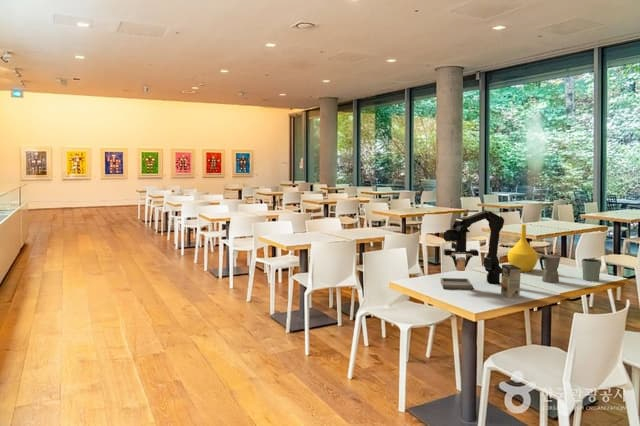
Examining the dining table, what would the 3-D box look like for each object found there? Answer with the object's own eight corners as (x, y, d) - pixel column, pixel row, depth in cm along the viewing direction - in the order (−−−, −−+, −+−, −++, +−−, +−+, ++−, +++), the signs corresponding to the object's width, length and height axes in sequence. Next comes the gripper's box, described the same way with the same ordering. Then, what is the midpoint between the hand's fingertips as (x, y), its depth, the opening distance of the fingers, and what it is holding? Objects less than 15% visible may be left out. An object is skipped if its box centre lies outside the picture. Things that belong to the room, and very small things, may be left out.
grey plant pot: (604, 281, 294) (605, 261, 292) (590, 282, 291) (591, 262, 289) (590, 277, 303) (591, 258, 302) (577, 278, 300) (578, 259, 299)
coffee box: (500, 293, 269) (501, 264, 267) (511, 293, 269) (512, 264, 268) (508, 298, 260) (509, 268, 258) (520, 297, 260) (521, 267, 259)
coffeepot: (552, 278, 301) (554, 249, 299) (565, 282, 292) (566, 252, 290) (532, 280, 296) (534, 251, 294) (544, 284, 287) (546, 254, 285)
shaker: (464, 269, 284) (464, 257, 283) (465, 271, 279) (466, 258, 278) (455, 269, 285) (455, 257, 284) (456, 270, 280) (457, 258, 279)
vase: (543, 272, 317) (545, 226, 314) (518, 274, 313) (520, 227, 309) (525, 266, 334) (527, 222, 331) (501, 268, 330) (502, 223, 327)
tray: (467, 282, 293) (467, 278, 292) (471, 289, 277) (471, 285, 277) (440, 282, 295) (440, 278, 294) (443, 288, 279) (443, 284, 279)
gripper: (475, 238, 287) (474, 264, 289) (442, 237, 289) (442, 264, 291) (479, 241, 276) (478, 268, 278) (445, 241, 278) (444, 268, 280)
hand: (460, 267), depth 282 cm, fingers closed on shaker, 5 cm apart
